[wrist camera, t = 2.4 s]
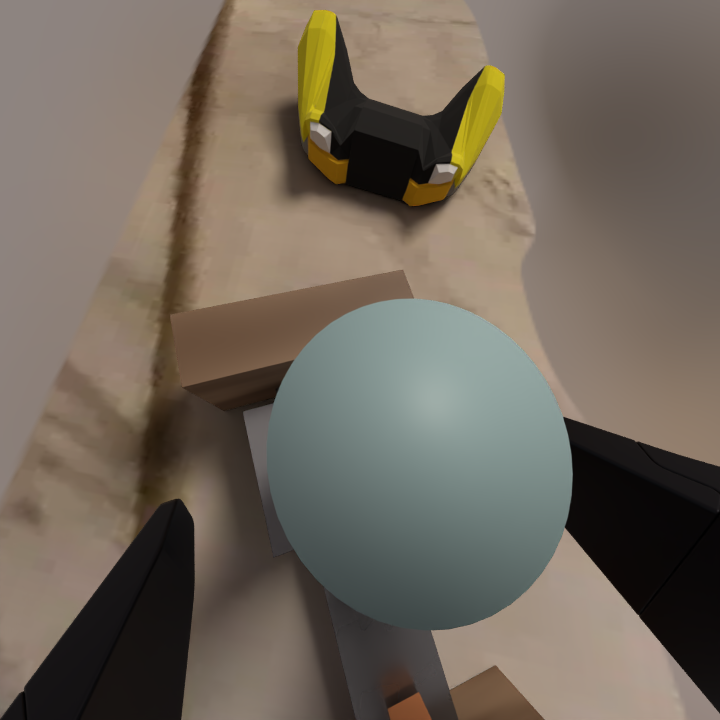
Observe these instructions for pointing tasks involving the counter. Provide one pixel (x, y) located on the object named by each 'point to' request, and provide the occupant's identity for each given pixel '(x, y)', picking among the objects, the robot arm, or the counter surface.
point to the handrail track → (388, 664)
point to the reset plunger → (409, 709)
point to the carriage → (414, 464)
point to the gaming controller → (387, 125)
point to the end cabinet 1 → (265, 336)
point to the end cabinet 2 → (491, 699)
